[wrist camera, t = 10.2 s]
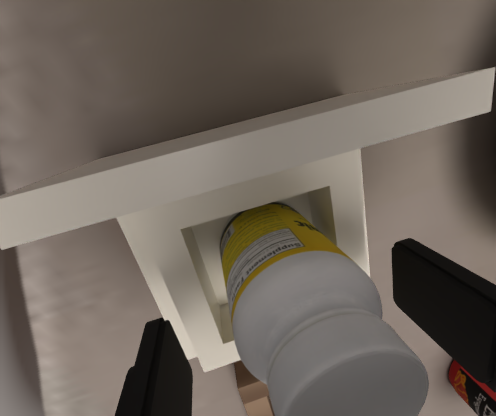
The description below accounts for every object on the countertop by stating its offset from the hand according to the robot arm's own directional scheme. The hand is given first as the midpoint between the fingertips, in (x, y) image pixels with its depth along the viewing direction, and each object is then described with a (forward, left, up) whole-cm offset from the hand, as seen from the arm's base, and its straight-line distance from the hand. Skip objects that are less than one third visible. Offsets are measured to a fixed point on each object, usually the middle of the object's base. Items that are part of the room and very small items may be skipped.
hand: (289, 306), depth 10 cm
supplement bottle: (0, 0, -6) cm, 6 cm away
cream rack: (0, 0, -7) cm, 7 cm away
